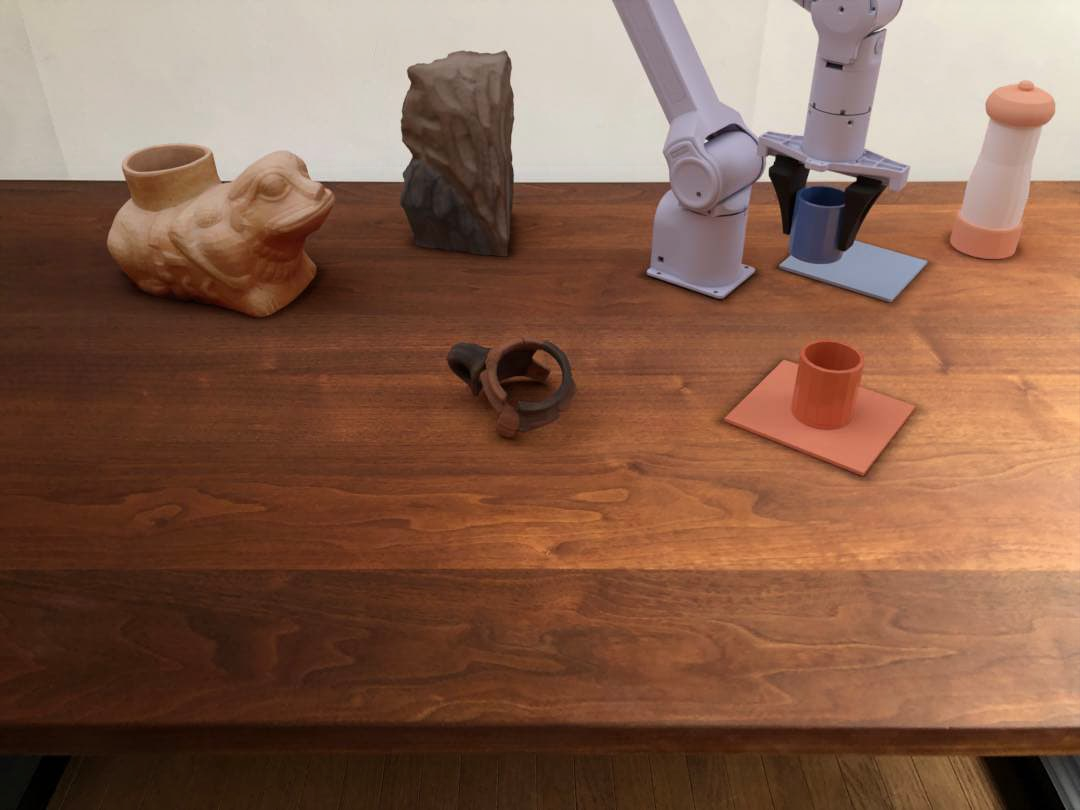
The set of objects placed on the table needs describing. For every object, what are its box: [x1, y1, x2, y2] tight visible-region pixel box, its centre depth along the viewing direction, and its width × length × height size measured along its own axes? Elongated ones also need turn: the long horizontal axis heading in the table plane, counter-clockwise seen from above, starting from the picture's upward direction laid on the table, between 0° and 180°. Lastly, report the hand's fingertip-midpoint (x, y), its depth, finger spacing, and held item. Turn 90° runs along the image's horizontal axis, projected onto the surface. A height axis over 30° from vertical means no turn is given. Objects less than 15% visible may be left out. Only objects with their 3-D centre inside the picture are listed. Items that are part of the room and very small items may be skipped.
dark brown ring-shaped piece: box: [445, 335, 578, 439], centre depth 94 cm, size 12×10×8 cm
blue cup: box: [787, 184, 845, 264], centre depth 104 cm, size 5×5×6 cm
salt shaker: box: [949, 79, 1056, 260], centre depth 117 cm, size 7×7×19 cm
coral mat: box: [723, 359, 916, 477], centre depth 95 cm, size 13×12×1 cm
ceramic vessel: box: [106, 142, 336, 318], centre depth 110 cm, size 14×26×15 cm, turn 71°
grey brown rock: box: [399, 49, 515, 257], centre depth 120 cm, size 13×13×20 cm
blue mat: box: [778, 240, 929, 304], centre depth 118 cm, size 13×11×1 cm
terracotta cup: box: [791, 338, 866, 430], centre depth 93 cm, size 5×5×6 cm
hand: (817, 238), depth 105 cm, fingers closed on blue cup, 5 cm apart
